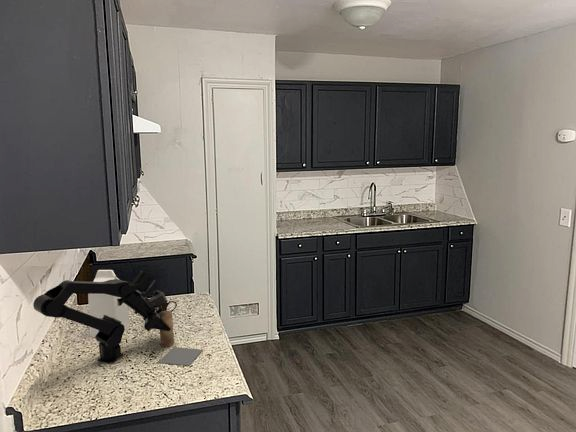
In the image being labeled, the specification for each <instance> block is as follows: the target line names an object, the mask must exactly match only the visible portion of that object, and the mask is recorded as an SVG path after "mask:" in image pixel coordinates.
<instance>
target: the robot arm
mask: <svg viewBox="0 0 576 432" xmlns="http://www.w3.org/2000/svg"><path fill="white" fill-rule="evenodd" d="M119 279H120V278H118V279H113V280H107V281H105V282H93V281H84V280H83V281H80V280H78V281H76V280H68V279H66V280H64V281H62V282H61V283H59V284H57V285H56V286H55V287H52V288H50V289H48V290H47V291H46V292H44V293H43V294H41V295H39V296H37V297H36V298H35V299H34V301H33V303H32V306H33V309H34V310H35V311H36V312H38V313H40V314H41V315H43V316H45V317H48V318H56V319H57V318H58V319H59V318H61V319H63V318H64V319H66V320H70V321H72V322H75V323H78V324H80V325H84V326H87V327H89V328H90V327H92V328H94V329H97V330H98V331H99V332H98V333H97V335H96V336H94V338H95V340H96V341H97V342H99V343H98V349H99V351H98V352H99V358H98V359H97V362H102V363H108V364H109V363H110V364H113V363H115V362H116V361H117V360H119V359H120V358H122V356H123V355H124V353H123V352H122V348H121V345H120V344H121V343H122V340H123V339H122V338H123V336H124V333H125V331H126V330H125V328H124V325H123V324H121V321H119V320H117V319H115V318H113V317H109V316H106V315H104V316H103V318H97V317H94V316H92V315H89V313H86V312H84V311H81V310H78V309H75V308H72V307H69V306H67V305H66V303H67V302H68V300H69V299H70V298H71V296H72V295H73V294H78V295H79V294H84V295H85V294H87V295H88V294H108V295H112V296H116V297H121V298H120V299H117V305H118V306H121V305H122V304H123V303H124V304H126V305H127V306H128V308H130V309H131V310H132V311H134V312H133V313H134V314H135V315H137V314H138V315H139V316H141V317H142V318H143V319H142V320H143V321H144V323H143V324H144V326H143V327H144V330H146V331H147V332H150V331H151V330H153V329H154V330H159V331H160V330H165V331H170V330H171V328H170V327H169V326H168V325H167V324H166V323H165V322H164V321H163V320H162V315H159V313H160V312H162V306H160V307H159V308H158V307H157V306H159V305H161V304H164V303H165V302H166V297H167V296H166V295H165V293H164V292H163V291H160V290H158V289H157V290H155V291H153V295H152V297H150V298H148V297H147V296H145V297H144V296H142V295H141V294H146V293H147V292H148V291H149V290H150V288H151V287H152V285H154V283H155V281H156V280H155V278H153V277H152V276H150V275H149V274H147V273H146V272H144V271H143V270H140V271H139V272H138V274H137V276H136V277H135V278H134V279H133V281H128V280H127V281H126V280H121V279H120V280H119ZM156 307H157V308H156ZM124 330H125V331H124Z"/></svg>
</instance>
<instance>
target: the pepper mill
mask: <svg viewBox="0 0 576 432" xmlns="http://www.w3.org/2000/svg"><path fill="white" fill-rule="evenodd" d="M159 315H162V320H163V321H164V322H165V323H166V324H167V325H168V326H169V327H170V328H171V330H170V331H165V330H159V339H160V340H159V341H160V346H161V347H164V348H168V347H171V346H174V344H175V337H174V323H173V311H172V312H171V310H167V311H162V312H160V313H159Z"/></svg>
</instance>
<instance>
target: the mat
mask: <svg viewBox="0 0 576 432" xmlns="http://www.w3.org/2000/svg"><path fill="white" fill-rule="evenodd" d="M202 352H204V349H199V348H191V347H190V348H188V347H178V346H177V347H176V346H173V347H172V348H171V349H170V350H169V351H168V352H167V353H166V354H165V355H164V356H163V357H162V358H161V359H159V360H158V361H157V364H165V365H174V366H175V365H176V366H184V367H189V366H191V365H192V364H193V362H194V361H196V359H197V358H198V357H199V356H200V355H201V354H202Z"/></svg>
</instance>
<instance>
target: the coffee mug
mask: <svg viewBox="0 0 576 432" xmlns="http://www.w3.org/2000/svg"><path fill="white" fill-rule="evenodd" d="M165 297H166V302H165V303H164V304H161V305H159V306H157V307H158V308H159V307H160V306H162V311H168V306H169V304H171V303H174V304H175V307H173V309H171V310H170V311H171V312H172V313H173V312H174V311H175V310H176V308H178V307H177V305H178V304H177V302H176V301H173V300H169V301H168V297H167V296H165ZM157 307H156V308H157Z"/></svg>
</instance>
